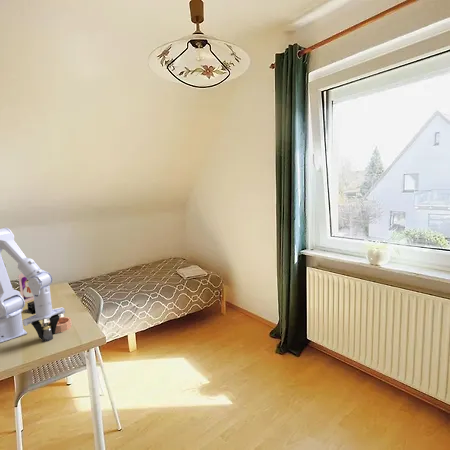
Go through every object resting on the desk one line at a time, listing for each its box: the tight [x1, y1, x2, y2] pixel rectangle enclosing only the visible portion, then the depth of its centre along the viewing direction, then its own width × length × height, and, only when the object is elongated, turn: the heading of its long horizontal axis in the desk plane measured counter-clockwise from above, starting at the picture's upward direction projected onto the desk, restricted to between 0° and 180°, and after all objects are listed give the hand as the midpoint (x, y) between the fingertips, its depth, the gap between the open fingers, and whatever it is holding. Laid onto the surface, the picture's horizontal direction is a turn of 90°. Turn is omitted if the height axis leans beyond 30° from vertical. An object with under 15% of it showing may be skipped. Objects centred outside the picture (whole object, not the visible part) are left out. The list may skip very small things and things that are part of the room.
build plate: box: [22, 300, 36, 315], centre depth 154 cm, size 12×7×5 cm, turn 58°
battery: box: [41, 322, 54, 343], centre depth 125 cm, size 4×4×7 cm
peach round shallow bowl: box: [48, 316, 73, 334], centre depth 135 cm, size 9×9×3 cm
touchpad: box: [43, 306, 65, 324], centre depth 147 cm, size 8×15×2 cm, turn 29°
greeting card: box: [18, 272, 34, 303], centre depth 168 cm, size 11×7×15 cm, turn 155°
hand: (47, 335), depth 126 cm, fingers closed on battery, 4 cm apart
